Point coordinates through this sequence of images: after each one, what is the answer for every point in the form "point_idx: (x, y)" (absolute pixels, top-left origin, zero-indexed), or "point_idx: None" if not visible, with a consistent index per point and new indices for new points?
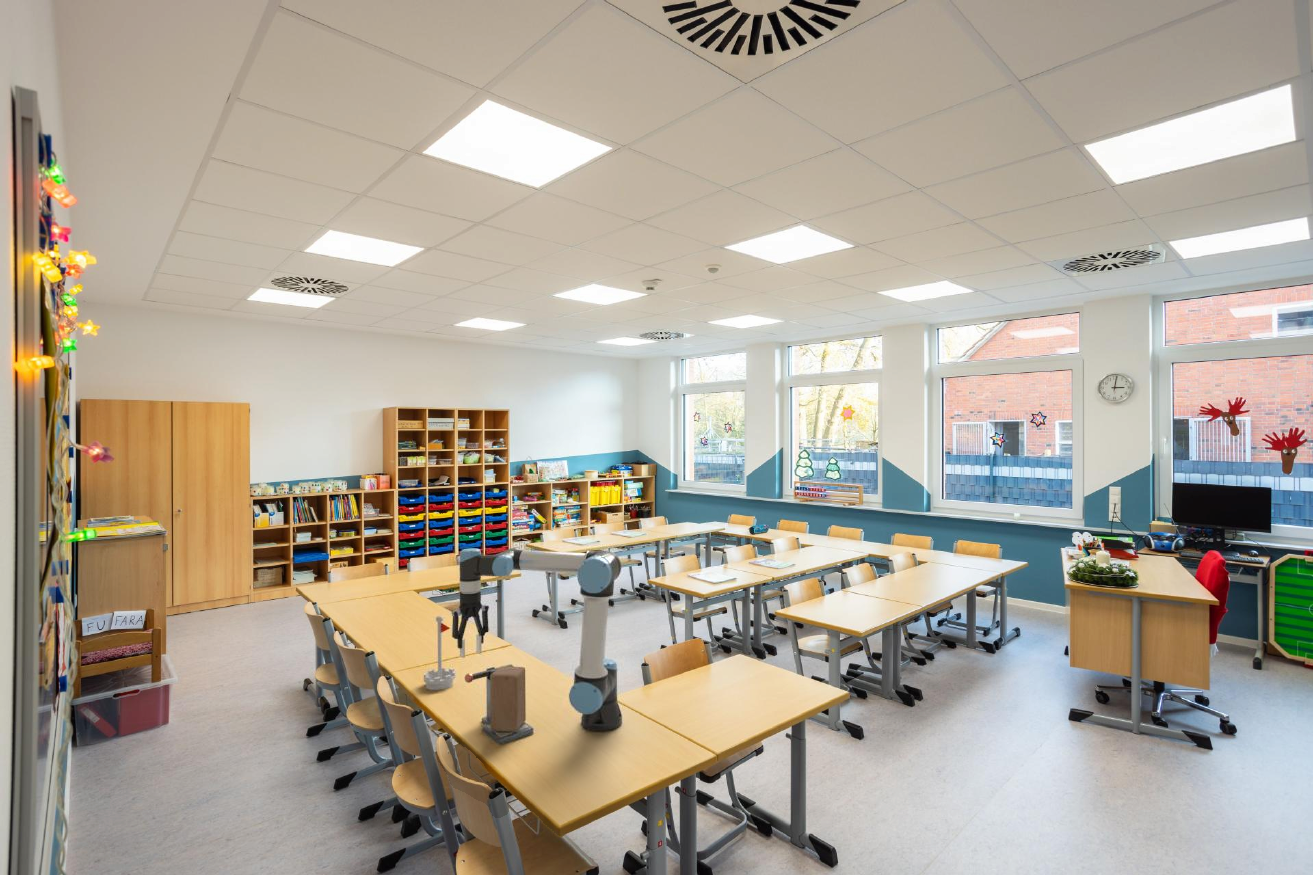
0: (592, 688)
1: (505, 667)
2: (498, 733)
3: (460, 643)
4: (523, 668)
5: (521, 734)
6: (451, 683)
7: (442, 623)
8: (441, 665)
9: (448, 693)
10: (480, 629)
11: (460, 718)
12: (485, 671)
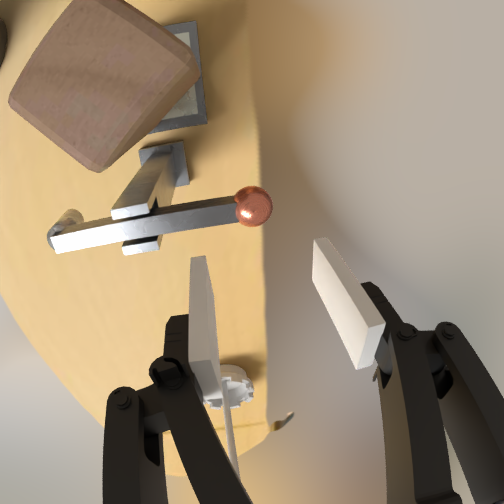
0: None
1: (81, 129)
2: None
3: (380, 307)
4: (15, 86)
5: None
6: None
7: None
8: (223, 407)
9: (218, 347)
10: (200, 423)
11: (232, 224)
12: (169, 224)
